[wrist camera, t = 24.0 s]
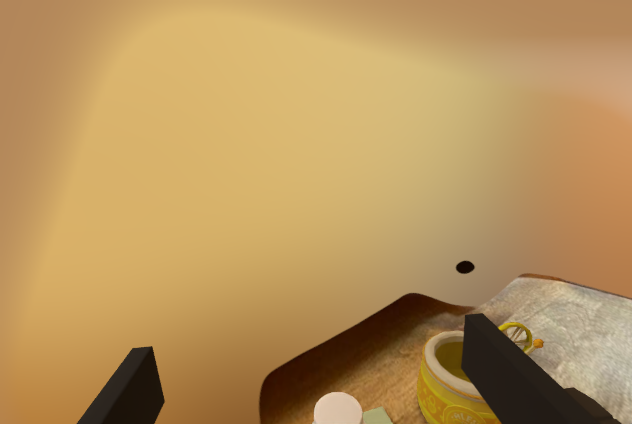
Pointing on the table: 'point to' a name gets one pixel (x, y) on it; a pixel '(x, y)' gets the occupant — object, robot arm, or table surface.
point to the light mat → (376, 416)
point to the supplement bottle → (338, 410)
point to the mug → (456, 380)
